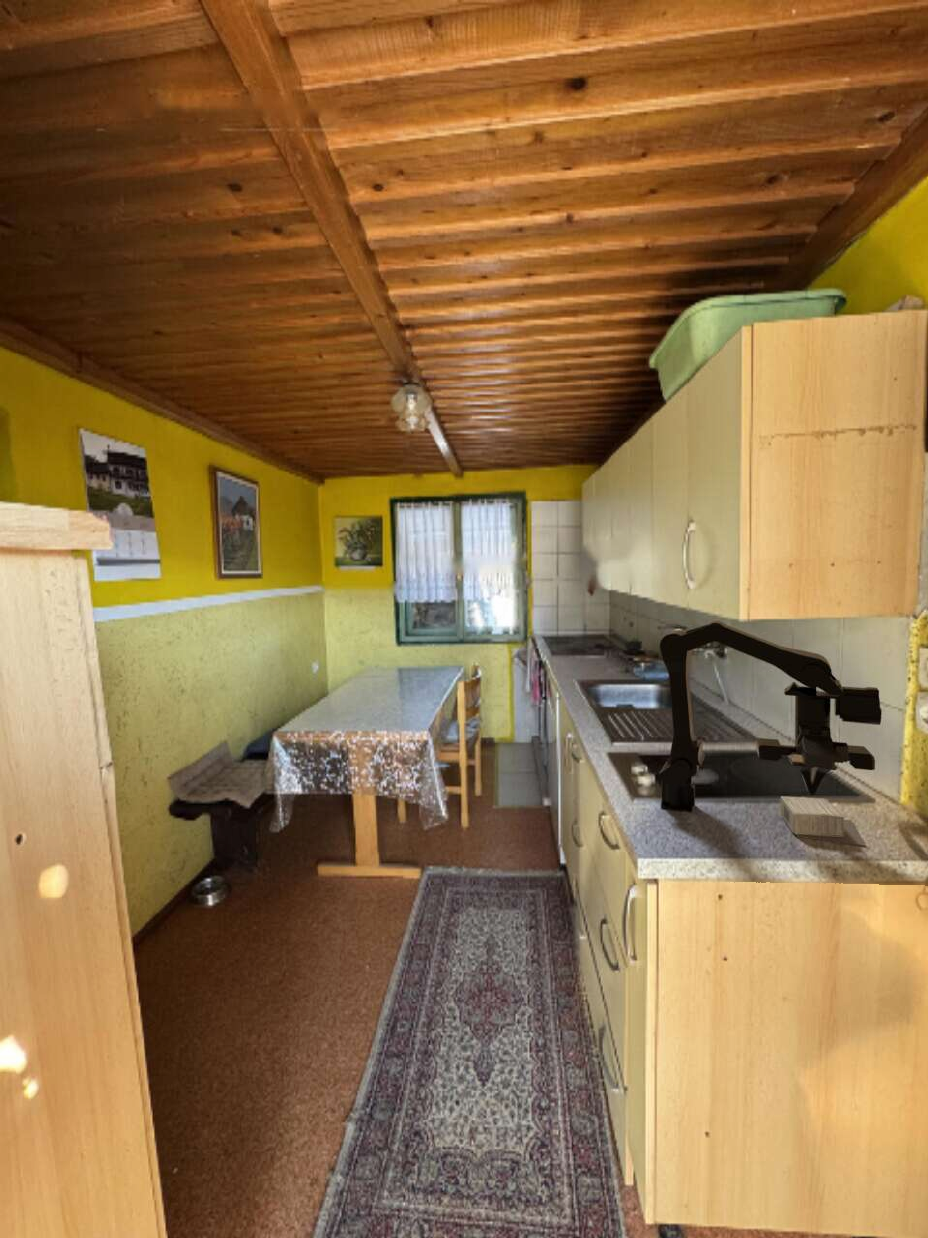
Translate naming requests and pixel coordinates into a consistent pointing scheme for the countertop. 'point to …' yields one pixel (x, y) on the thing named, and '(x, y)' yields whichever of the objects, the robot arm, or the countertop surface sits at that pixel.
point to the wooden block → (812, 816)
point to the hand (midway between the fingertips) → (811, 794)
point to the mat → (849, 837)
